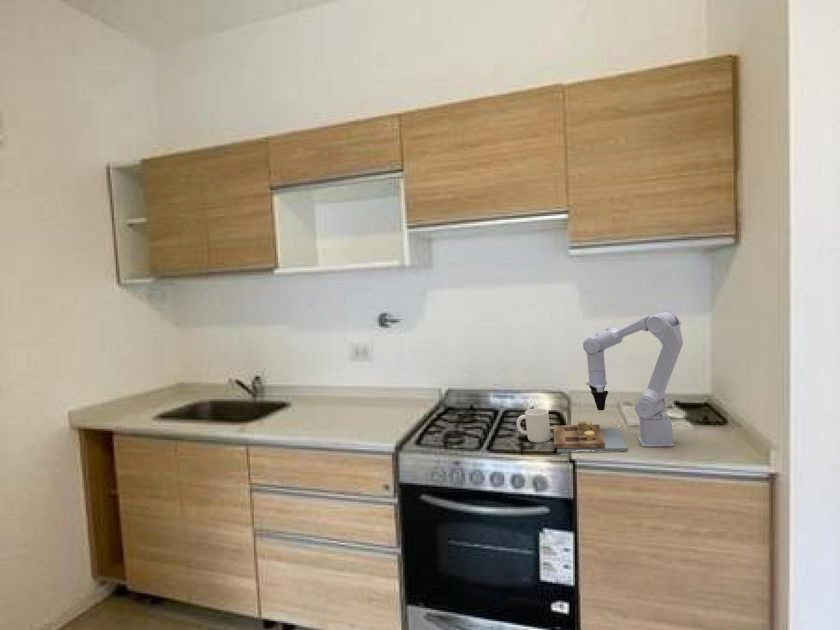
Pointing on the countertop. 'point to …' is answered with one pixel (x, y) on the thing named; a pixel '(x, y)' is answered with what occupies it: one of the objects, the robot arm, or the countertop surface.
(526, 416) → the mug
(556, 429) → the panel
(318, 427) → the countertop surface
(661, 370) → the robot arm
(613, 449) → the boss board
